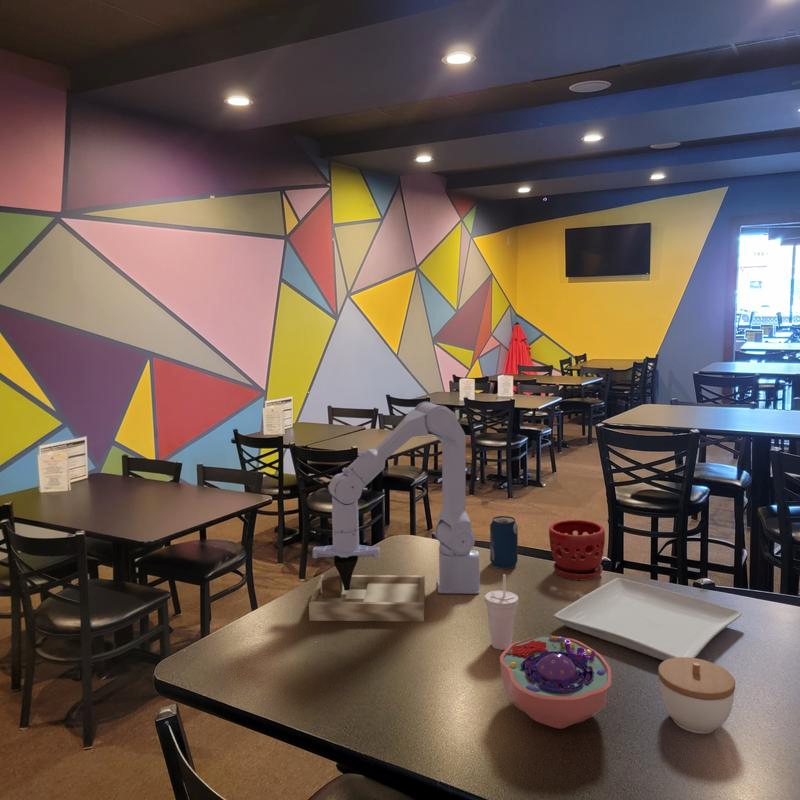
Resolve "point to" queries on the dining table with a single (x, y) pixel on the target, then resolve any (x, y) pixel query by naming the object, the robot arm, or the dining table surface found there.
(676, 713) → the lidded jar
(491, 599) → the smoothie
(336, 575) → the walnut block
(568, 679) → the cell model
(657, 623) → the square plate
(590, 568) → the plant pot
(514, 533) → the soda can
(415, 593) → the box
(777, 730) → the dining table surface
